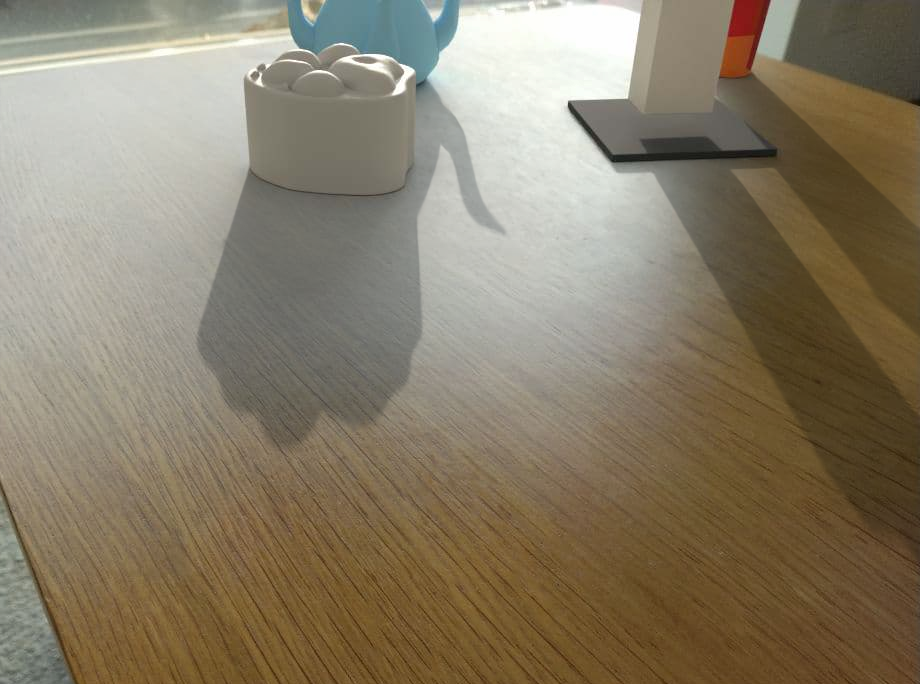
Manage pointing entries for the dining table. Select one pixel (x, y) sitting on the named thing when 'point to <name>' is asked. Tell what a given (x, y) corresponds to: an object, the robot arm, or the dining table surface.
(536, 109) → the dining table surface
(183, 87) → the dining table surface
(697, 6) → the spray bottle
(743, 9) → the paper cup
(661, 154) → the mat
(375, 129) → the lumpy-topped squat cylinder
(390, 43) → the teapot
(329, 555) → the dining table surface
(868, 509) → the dining table surface
